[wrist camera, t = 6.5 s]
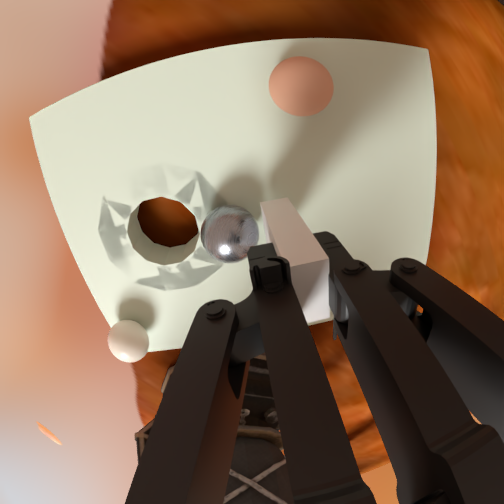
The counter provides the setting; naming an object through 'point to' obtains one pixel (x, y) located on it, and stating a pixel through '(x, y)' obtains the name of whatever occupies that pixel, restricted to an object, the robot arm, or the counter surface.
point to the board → (237, 167)
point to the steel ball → (229, 233)
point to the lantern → (251, 444)
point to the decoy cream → (128, 341)
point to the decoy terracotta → (301, 86)
